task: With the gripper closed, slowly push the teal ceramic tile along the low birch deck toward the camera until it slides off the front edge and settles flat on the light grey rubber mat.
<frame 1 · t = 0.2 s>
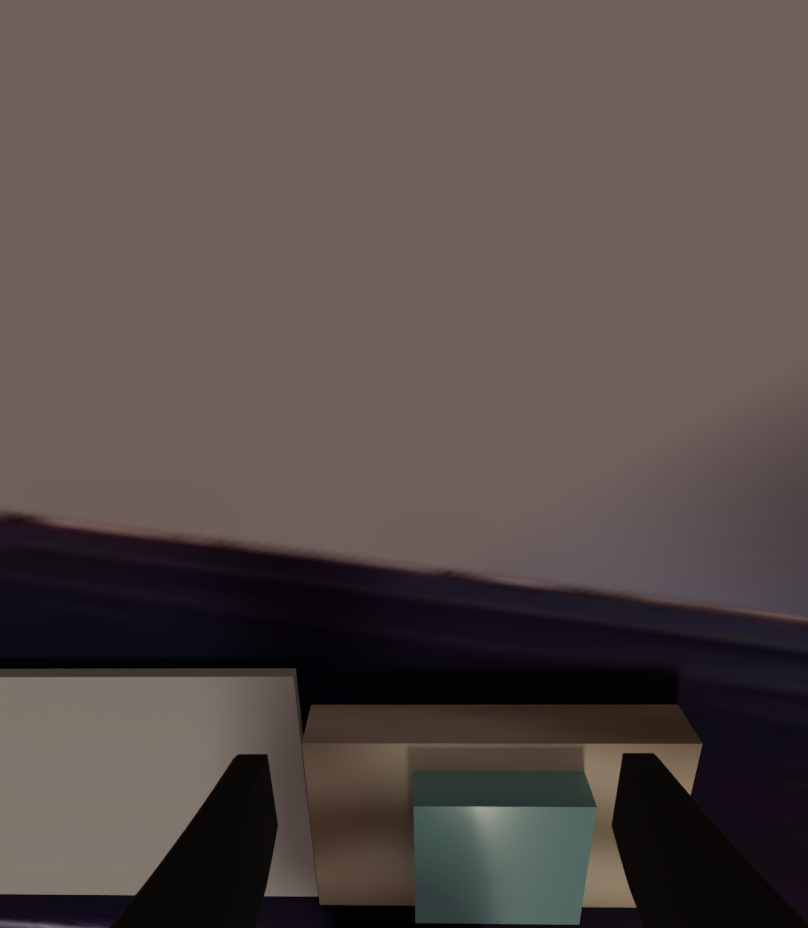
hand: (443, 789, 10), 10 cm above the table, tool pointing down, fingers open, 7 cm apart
mat: (101, 786, 24), on the table
deck: (488, 787, 24), on the table
tile: (495, 831, 22), point 2 cm above the table, touching deck
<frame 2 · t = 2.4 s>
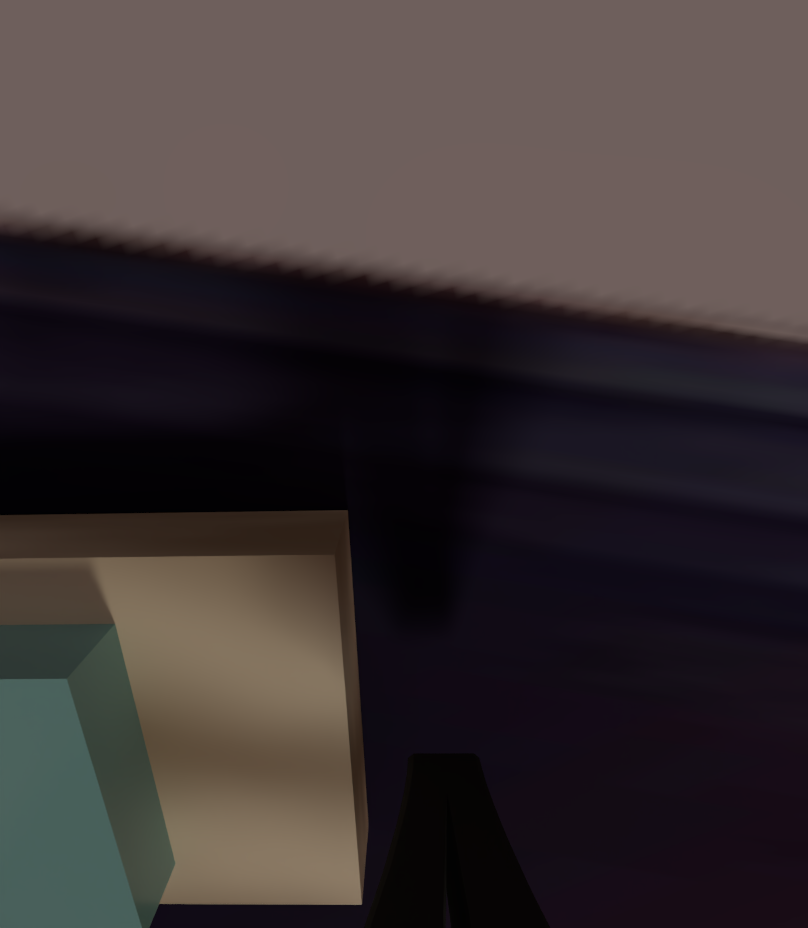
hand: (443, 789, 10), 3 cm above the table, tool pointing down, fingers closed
deck: (53, 689, 13), on the table
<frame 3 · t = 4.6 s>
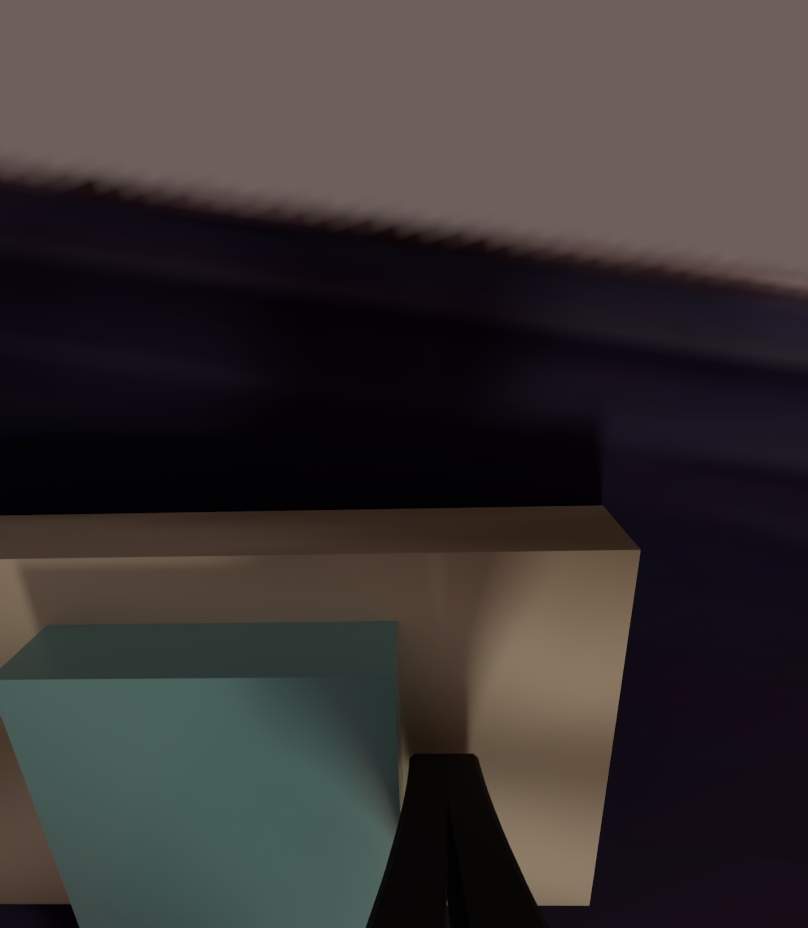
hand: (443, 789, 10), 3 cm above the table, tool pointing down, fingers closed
deck: (269, 688, 13), on the table
tile: (243, 756, 11), point 2 cm above the table, touching gripper
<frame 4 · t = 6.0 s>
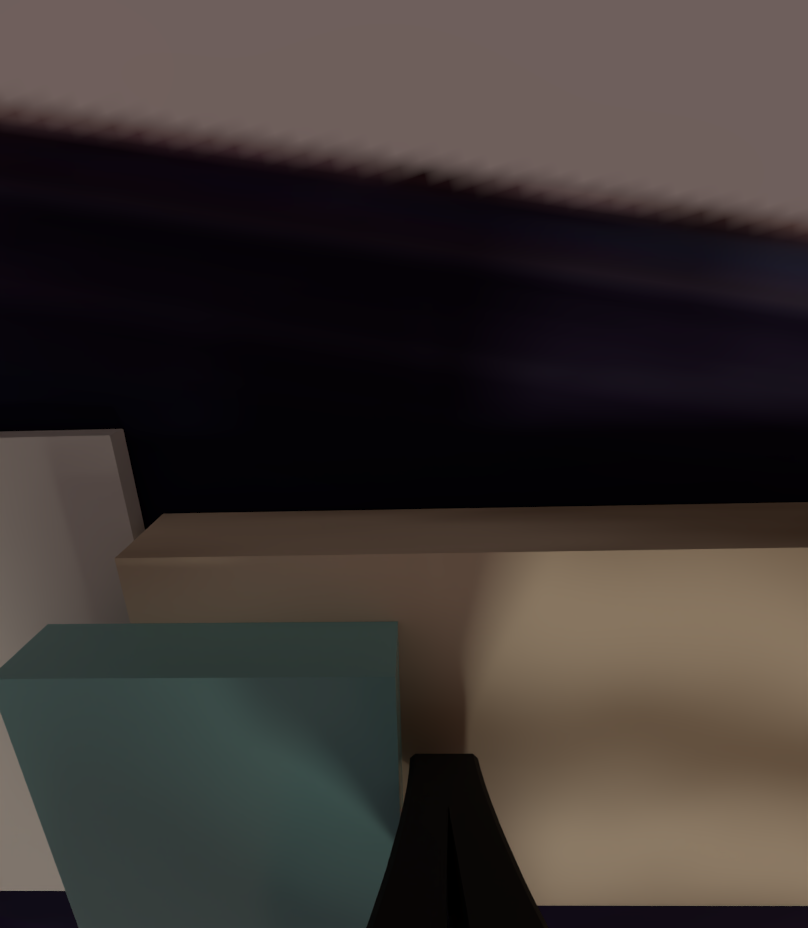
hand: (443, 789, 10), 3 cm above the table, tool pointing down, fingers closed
deck: (508, 686, 13), on the table
tile: (243, 755, 11), point 2 cm above the table, touching gripper
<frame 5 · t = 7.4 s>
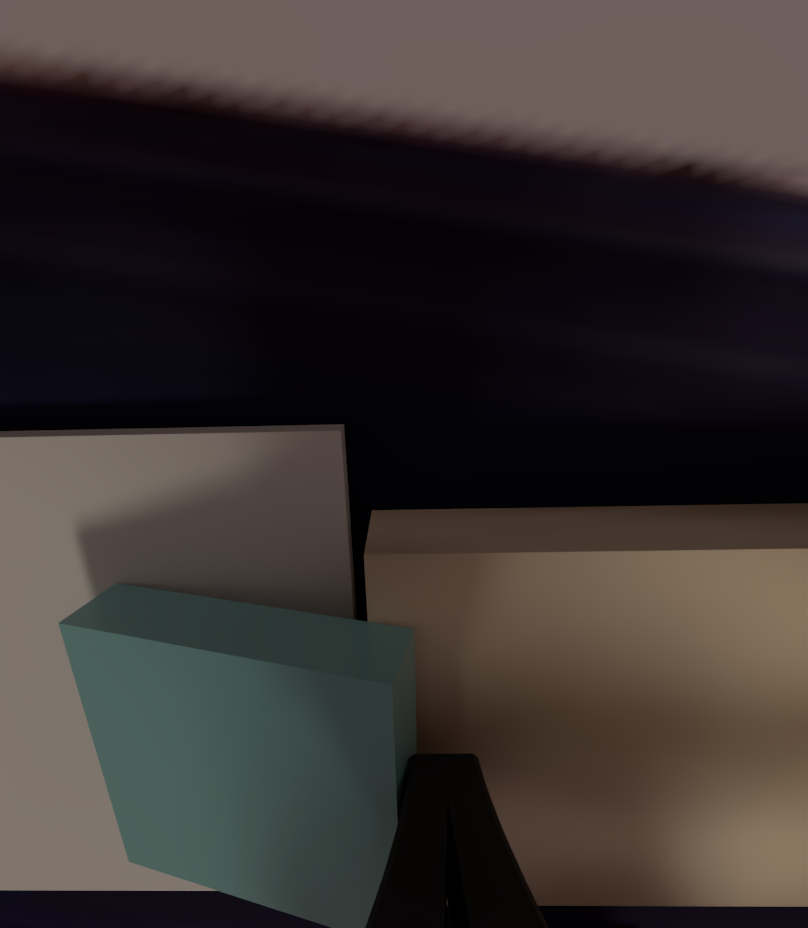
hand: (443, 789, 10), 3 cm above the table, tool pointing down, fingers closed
deck: (696, 685, 13), on the table
tile: (271, 732, 12), point 1 cm above the table, tilted 14°, touching deck, gripper
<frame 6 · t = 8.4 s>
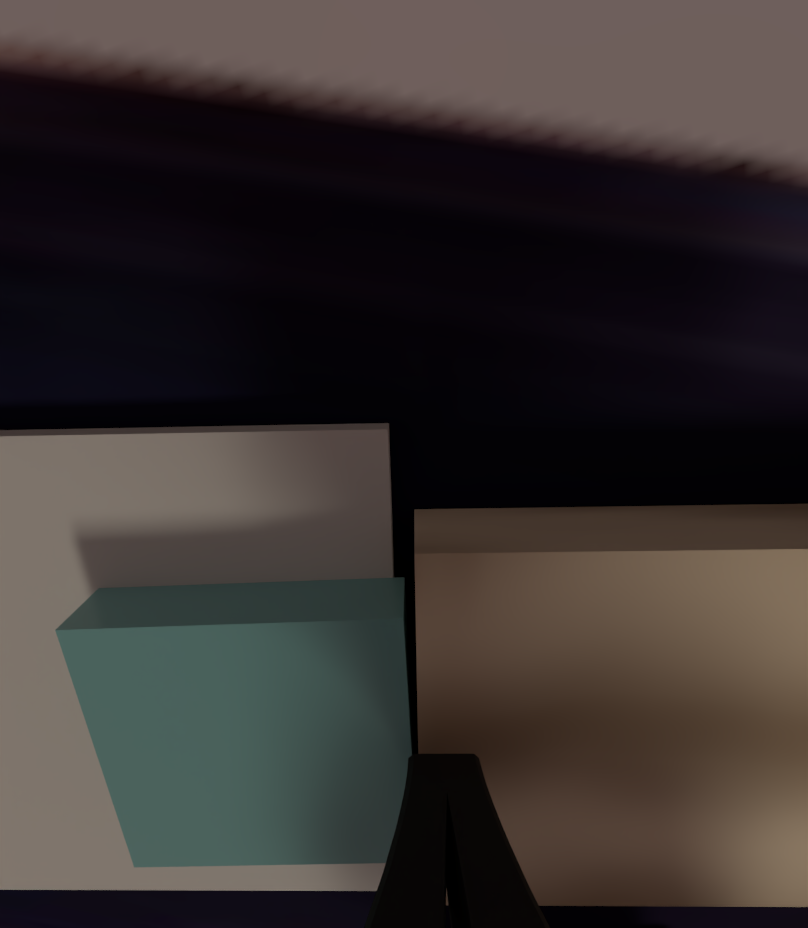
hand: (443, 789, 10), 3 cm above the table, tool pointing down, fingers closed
mat: (15, 689, 13), on the table
deck: (734, 685, 13), on the table
tile: (271, 704, 13), resting on mat
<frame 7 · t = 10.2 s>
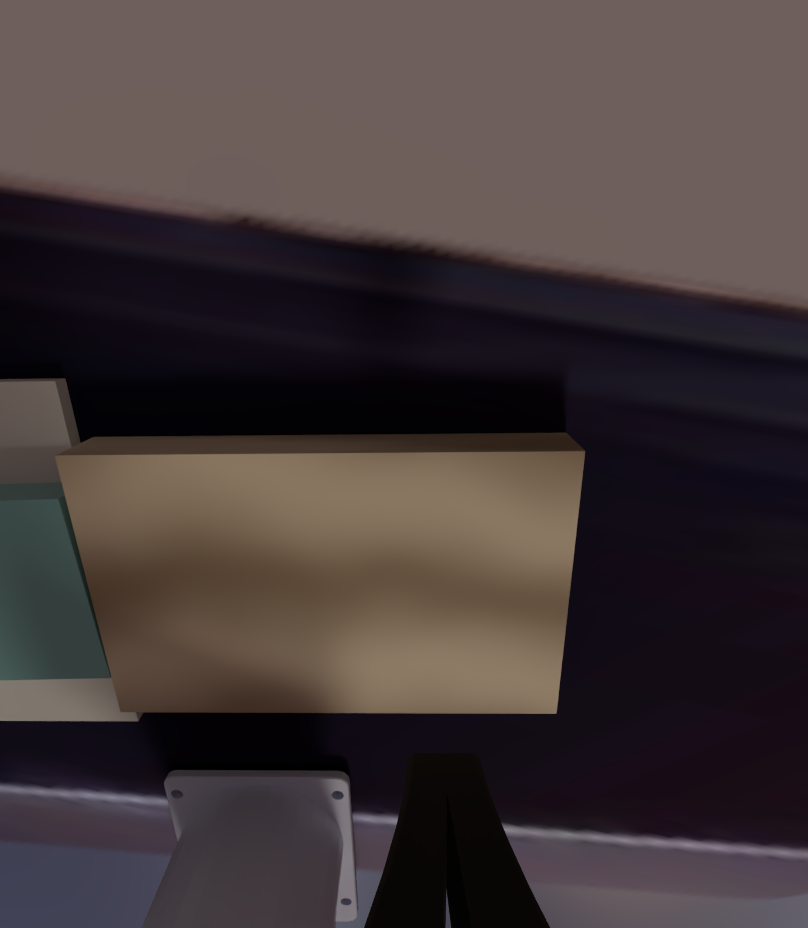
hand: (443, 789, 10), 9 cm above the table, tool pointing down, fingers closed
deck: (336, 564, 19), on the table
tile: (17, 573, 19), resting on mat
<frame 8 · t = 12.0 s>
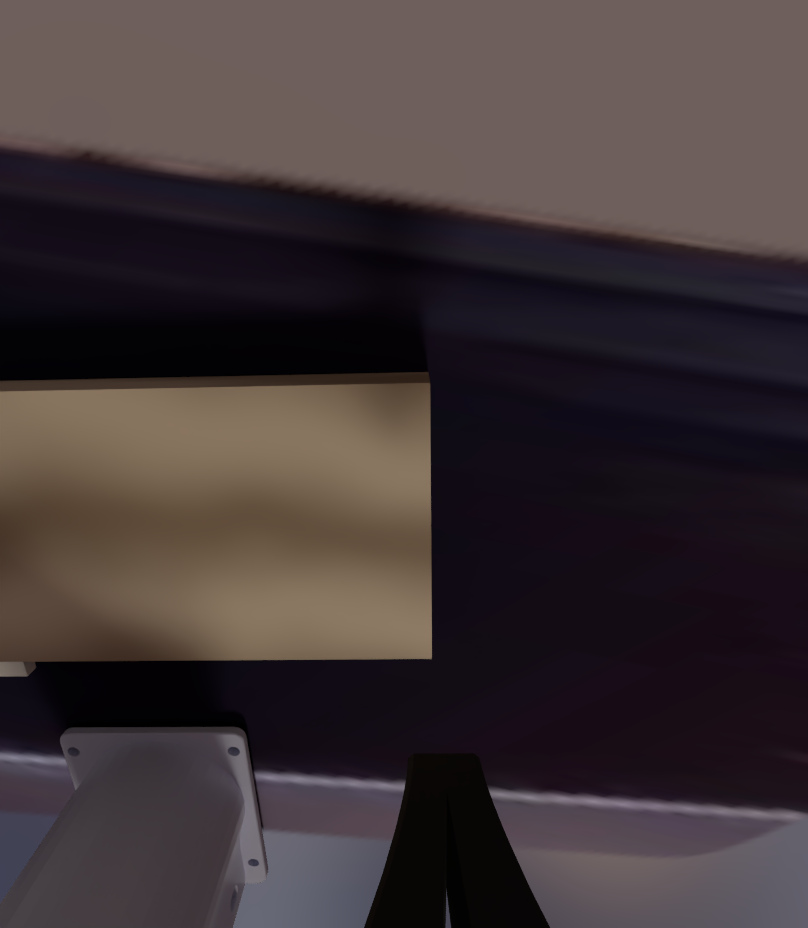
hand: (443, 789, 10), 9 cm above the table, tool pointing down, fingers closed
deck: (212, 512, 19), on the table
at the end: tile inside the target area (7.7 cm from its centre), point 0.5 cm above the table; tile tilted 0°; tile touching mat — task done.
